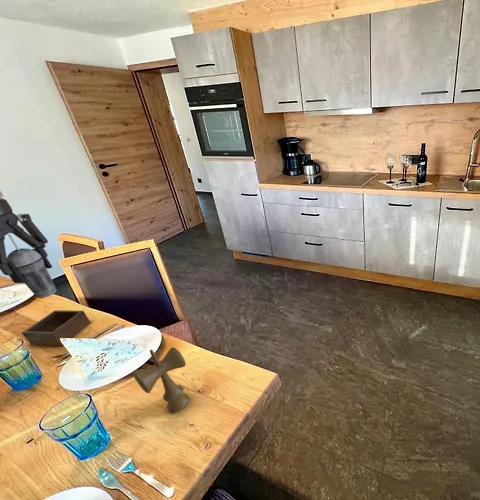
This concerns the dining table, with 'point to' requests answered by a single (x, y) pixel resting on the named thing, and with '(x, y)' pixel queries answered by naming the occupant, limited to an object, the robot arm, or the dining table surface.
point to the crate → (44, 327)
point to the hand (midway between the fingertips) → (34, 274)
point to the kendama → (164, 379)
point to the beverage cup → (32, 270)
